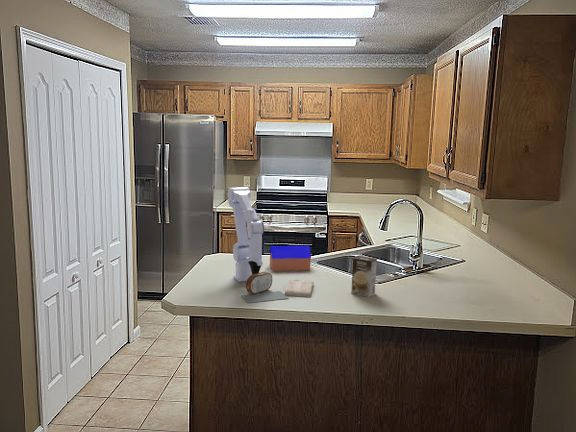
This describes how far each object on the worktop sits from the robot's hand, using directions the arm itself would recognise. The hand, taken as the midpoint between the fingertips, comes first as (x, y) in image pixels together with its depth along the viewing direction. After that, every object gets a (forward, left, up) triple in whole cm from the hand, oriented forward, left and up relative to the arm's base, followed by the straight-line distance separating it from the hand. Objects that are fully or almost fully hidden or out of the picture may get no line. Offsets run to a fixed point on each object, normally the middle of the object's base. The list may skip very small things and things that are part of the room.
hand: (255, 277), depth 230 cm
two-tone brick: (-27, +27, -5) cm, 39 cm away
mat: (+14, 0, -5) cm, 15 cm away
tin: (+7, 0, -5) cm, 9 cm away
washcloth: (+9, +18, -6) cm, 21 cm away
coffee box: (+22, +43, -5) cm, 49 cm away
